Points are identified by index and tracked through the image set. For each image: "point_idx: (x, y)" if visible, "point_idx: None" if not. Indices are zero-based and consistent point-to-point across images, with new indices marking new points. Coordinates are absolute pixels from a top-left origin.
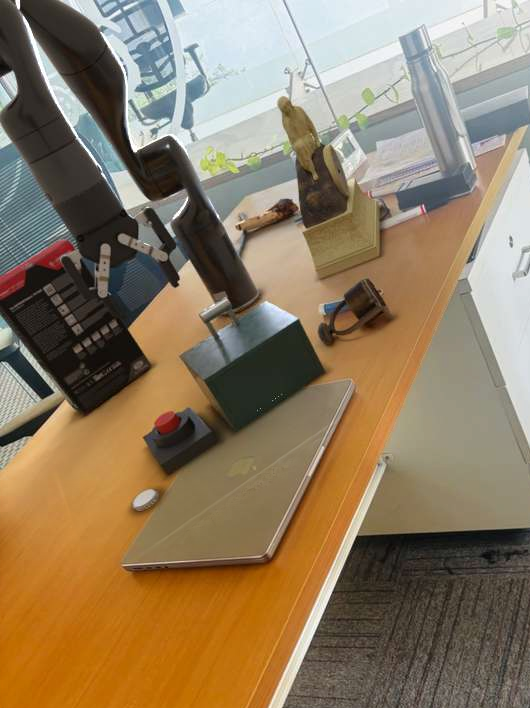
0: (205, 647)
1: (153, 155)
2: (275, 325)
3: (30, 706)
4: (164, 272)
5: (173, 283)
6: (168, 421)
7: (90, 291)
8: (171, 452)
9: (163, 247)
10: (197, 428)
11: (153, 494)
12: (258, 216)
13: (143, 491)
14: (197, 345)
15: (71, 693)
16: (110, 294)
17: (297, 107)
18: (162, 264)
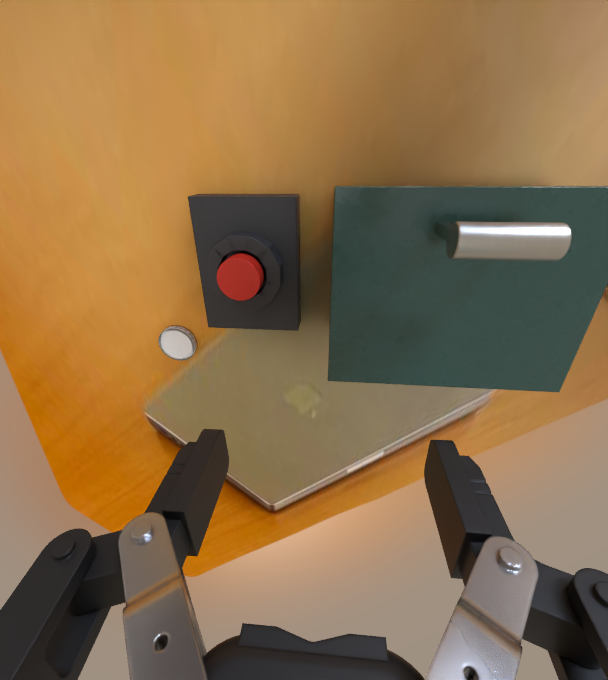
0: (208, 529)
1: None
2: (526, 360)
3: (71, 478)
4: (445, 501)
5: (429, 491)
6: (242, 300)
7: (107, 614)
8: (230, 315)
9: (536, 642)
10: (283, 297)
11: (190, 351)
12: None
13: (176, 328)
14: (392, 198)
15: (106, 492)
16: (193, 551)
17: None
18: (454, 573)
